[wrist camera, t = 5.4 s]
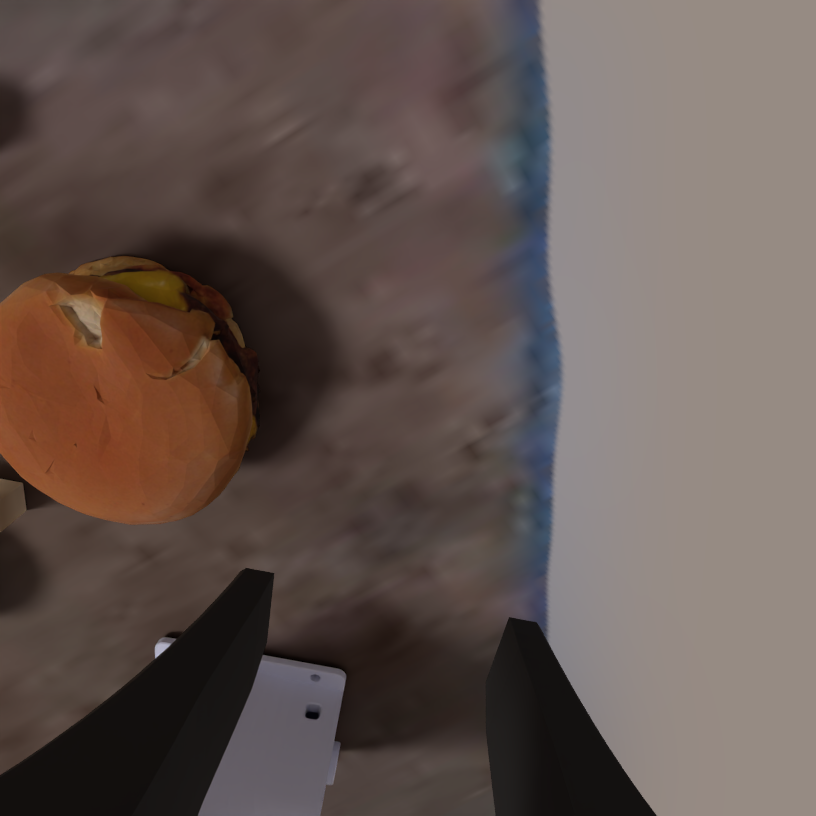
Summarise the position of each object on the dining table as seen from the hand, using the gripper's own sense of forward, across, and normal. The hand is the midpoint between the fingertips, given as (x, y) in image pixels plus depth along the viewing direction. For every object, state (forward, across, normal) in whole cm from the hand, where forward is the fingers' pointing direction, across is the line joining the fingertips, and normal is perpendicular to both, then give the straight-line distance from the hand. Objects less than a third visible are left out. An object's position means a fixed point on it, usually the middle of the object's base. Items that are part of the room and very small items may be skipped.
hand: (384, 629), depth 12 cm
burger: (+11, +10, 0) cm, 15 cm away
